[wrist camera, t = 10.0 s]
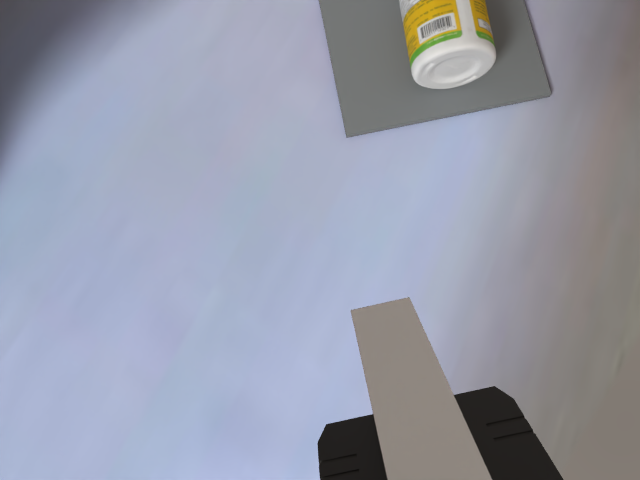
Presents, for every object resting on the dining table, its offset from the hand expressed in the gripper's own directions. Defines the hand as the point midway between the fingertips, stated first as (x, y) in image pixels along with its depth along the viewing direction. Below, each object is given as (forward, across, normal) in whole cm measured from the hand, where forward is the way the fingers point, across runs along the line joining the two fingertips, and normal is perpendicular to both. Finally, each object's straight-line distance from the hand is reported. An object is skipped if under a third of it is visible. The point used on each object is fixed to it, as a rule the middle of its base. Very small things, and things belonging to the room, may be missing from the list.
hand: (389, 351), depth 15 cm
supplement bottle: (+26, +9, +4) cm, 27 cm away
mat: (+31, +9, +6) cm, 33 cm away
